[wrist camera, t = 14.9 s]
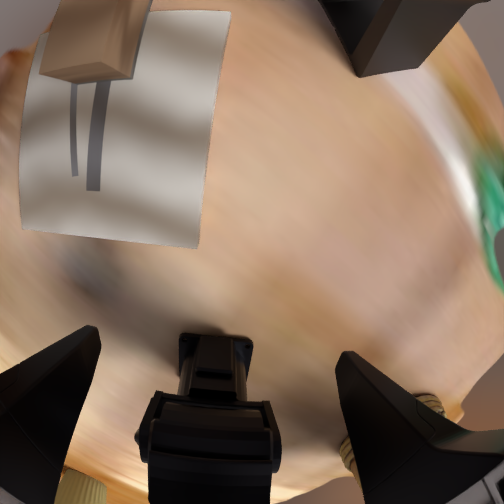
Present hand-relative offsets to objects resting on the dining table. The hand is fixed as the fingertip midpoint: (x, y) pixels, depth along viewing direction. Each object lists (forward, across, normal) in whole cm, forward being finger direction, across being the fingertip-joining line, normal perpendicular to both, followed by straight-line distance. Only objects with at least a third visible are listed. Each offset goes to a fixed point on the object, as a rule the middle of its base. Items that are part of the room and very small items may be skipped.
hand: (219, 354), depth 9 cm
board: (+12, +10, -8) cm, 18 cm away
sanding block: (+11, +10, -14) cm, 21 cm away
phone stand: (+12, -8, -19) cm, 24 cm away
